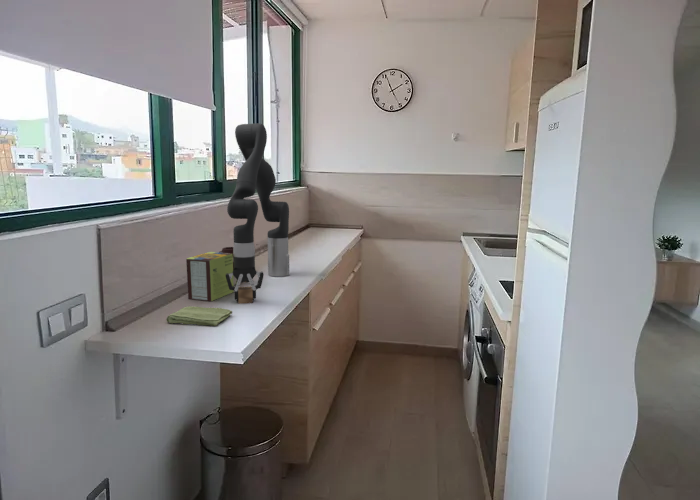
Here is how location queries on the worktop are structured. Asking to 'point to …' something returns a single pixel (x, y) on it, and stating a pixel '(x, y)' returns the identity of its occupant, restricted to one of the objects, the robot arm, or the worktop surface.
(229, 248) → the coffee cup
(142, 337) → the worktop surface
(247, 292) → the walnut cube
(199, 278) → the protein box
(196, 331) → the worktop surface
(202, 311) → the washcloth
